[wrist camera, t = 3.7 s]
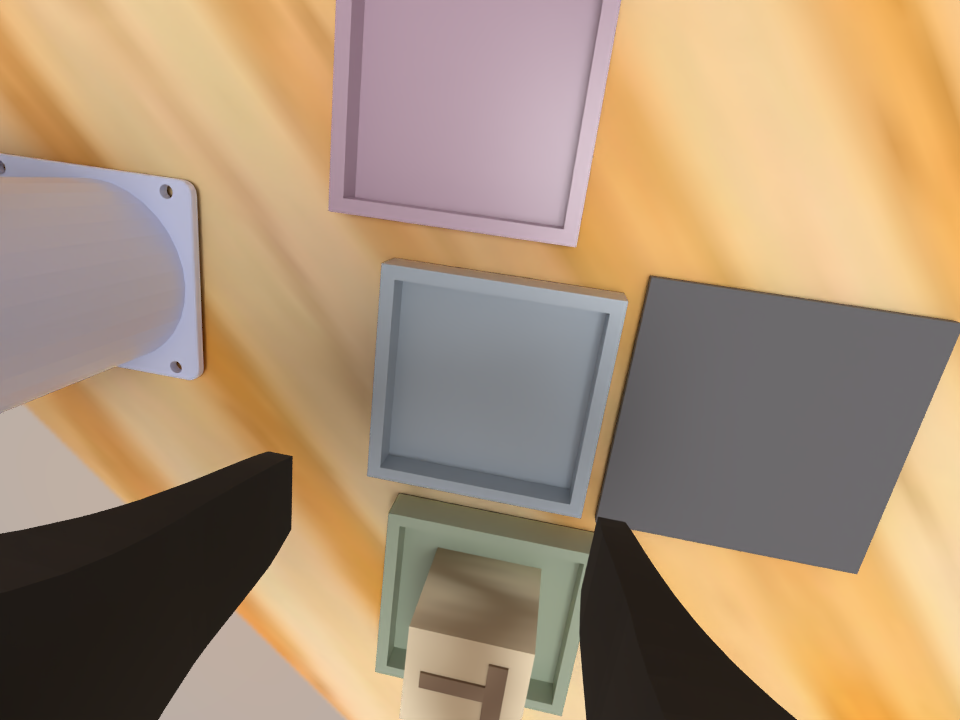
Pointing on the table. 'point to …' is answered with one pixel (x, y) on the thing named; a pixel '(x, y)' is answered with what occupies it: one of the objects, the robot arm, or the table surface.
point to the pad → (769, 420)
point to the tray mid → (491, 383)
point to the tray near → (469, 112)
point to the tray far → (497, 537)
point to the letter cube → (471, 640)
